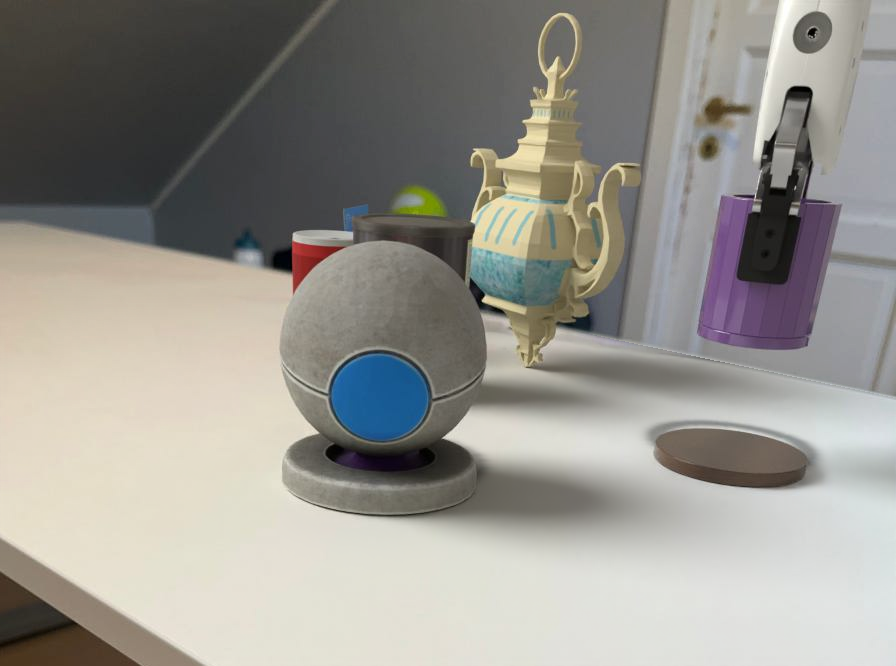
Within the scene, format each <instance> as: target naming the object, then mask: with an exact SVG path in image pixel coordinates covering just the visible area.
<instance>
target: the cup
mask: <svg viewBox="0 0 896 666" xmlns="http://www.w3.org/2000/svg"><path fill="white" fill-rule="evenodd" d="M754 198H755V193H724V194H723V193H722V194H721V196H720V201H719V207H718V211H717V216H716V223H715V228H714V232H713V238H712V245H711V249H710V250H711V251H710V255H709V260H708V267H707V272H706V276H705V283H704V287H703V295H702V300H701V305H700V309H699V310H700V311H699V316H698V324H697V331H696V333H697V335H698V336H699V337H701V339H702V338H703V339H705V340H707V341H711V342H713V343H718V344H722V345H727V346H731V347H736V348H737V347H738V348H745V349H754V350H766V351H793V350H802V349H804V348H807V347H809V345H810V341H811V337H812V334H813V329H814V326H815V325H814V324H815V321H816V317H817V312H818V308H819V304H820V300H821V295H822V292H823V291H822V290H823V287H824V283H825V279H826V274H827V271H828V270H827V269H828V266H829V261H830V258H831V253H832V249H833V246H834V245H833V244H834V240H835V235H836V232H837V228H838V223H839V221H840V220H839V219H840V216H841V211H842V207H843V202H840V201H835V200H829V199H820V198H811V197H807V198H802V200H801V204H800V208H799V212H798V216H797V217H802V219H801V223H800V228H799V232H798V237H797V241H796V246H795V251H794V255H793V260H792V264H791V269H790V273H789V278H788V280H787V282H786V283H785V284H783V285H777V284H767V283H757V282H748V281H740V280H738V279H737V276H736V273H737V268H738V263H739V258H740V253H741V248H742V243H743V238H744V233H745V228H746V223H747V218H748V213H752V207H753V202H754Z"/></svg>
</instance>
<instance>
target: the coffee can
mask: <svg viewBox="0 0 896 666" xmlns="http://www.w3.org/2000/svg"><path fill="white" fill-rule="evenodd" d="M470 221H471V220H467V219H462V218H457V217H456V218H455V217H448V216H441V215H431V214H430V215H429V214H417V213H415V214H414V213H397V212H395V213H394V212H372V213H369V212H368V214H358V215H355V216H353V217H352V227H353V245H356V244H360V243H364V242H371V241H394V242H401V243H405V244H410V245H414V246H416V247H419V248H421V249H423V250H425V251H427V252H429V253H431V254H433V255H435V256H437V257H438V258H440V259H441V260H442V261H444V262H445V263H446V264H448V265H449V266H450V267H451V268H452V269H453V270H454V271H455V272H456V273H457V274H458V275H459V276H460V277H461V279H462V280H463V281H464V282H465V284H466V285H467V286H468V288H469V289H470V282H471V277H470V269H471V256H472V242H473V234H474V232H475V224H474V223H472V222H470Z"/></svg>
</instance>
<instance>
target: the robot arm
mask: <svg viewBox="0 0 896 666" xmlns="http://www.w3.org/2000/svg"><path fill="white" fill-rule="evenodd" d="M871 3H872V0H778V5H777V10H776V15H775V19H774V25H773V30H772V35H771V41H770V45H769V51H768V57H767V62H766V66H765V67H766V68H765V74H764V79H763V84H762V90H761V97H760V102H759V107H758V108H759V109H758V115H757V123H756V130H755V138H754V144H753V145H754V146H753V153H752V164H753V165H754V167H755V168H756V169H757V170H759V171H760V173H759V177H758V181H757V185H756V189H755V193H754V194H755V198H754V202H753V207H752V213H748V218H747V223H746V228H745V233H744V238H743V243H742V248H741V253H740V258H739V263H738V268H737V273H736V276H737V279H738V280H740V281H748V282H757V283H767V284H777V285H783V284H785V283H786V282H787V280H788V278H789V273H790V269H791V264H792V260H793V255H794V251H795V246H796V241H797V237H798V232H799V228H800V223H801V219H802V217H797V216H798V212H799V208H800V204H801V200H802V198H808V194H809V188H810V183H811V179H812V175H813V172H814V167H815V163H821V164H822V167H821V172H820V175H821V176H827V175H828V174H830V173H831V172H832V171H834V170H835V169H836V166H837V162H838V157H839V154H840V150H841V145H842V141H843V137H844V134H845V129H846V125H847V120H848V115H849V110H850V107H851V103H852V100H853V99H852V98H853V94H854V90H855V85H856V80H857V77H858V73H859V68H860V64H861V61H862V60H861V59H862V55H863V50H864V45H865V39H866V35H867V30H868V23H869V18H870V12H871V5H872V4H871Z"/></svg>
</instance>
